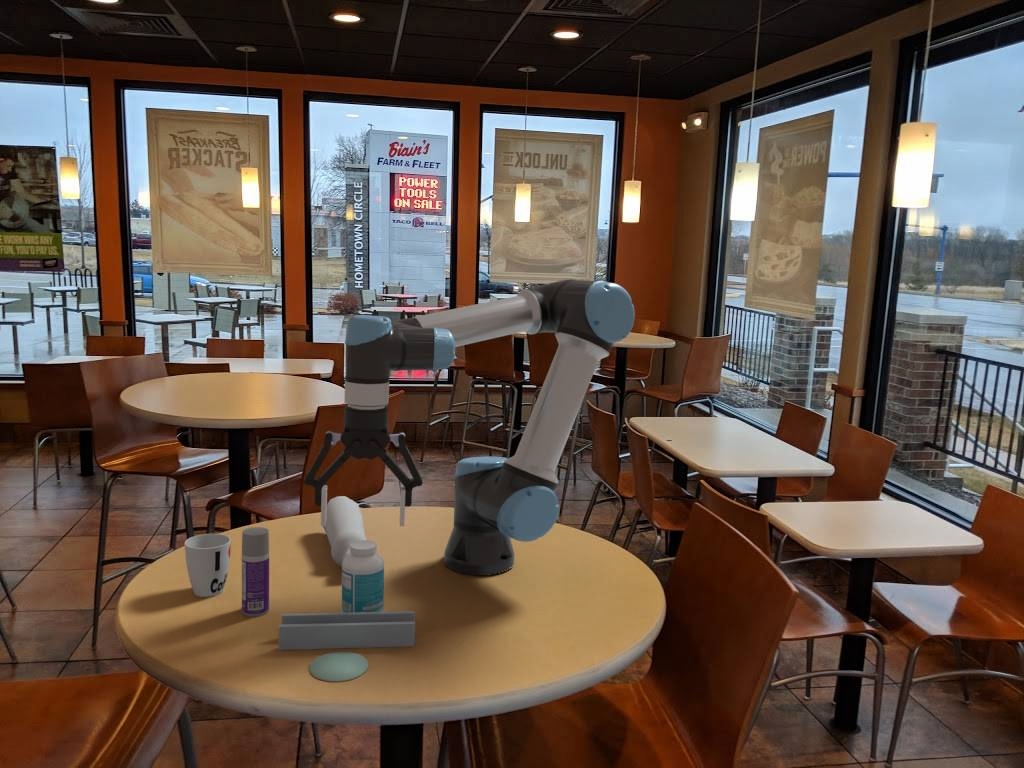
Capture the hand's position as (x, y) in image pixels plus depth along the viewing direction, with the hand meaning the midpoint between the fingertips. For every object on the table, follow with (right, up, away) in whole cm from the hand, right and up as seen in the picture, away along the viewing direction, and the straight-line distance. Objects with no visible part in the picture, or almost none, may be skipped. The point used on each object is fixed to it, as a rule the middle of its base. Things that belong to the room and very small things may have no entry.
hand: (363, 523), depth 140 cm
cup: (-31, -15, +10) cm, 36 cm away
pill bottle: (-1, -17, +3) cm, 18 cm away
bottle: (-10, -13, +32) cm, 36 cm away
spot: (-1, -20, -15) cm, 25 cm away
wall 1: (-1, -19, -9) cm, 21 cm away
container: (-20, -16, +3) cm, 26 cm away
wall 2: (-2, -18, -5) cm, 19 cm away
